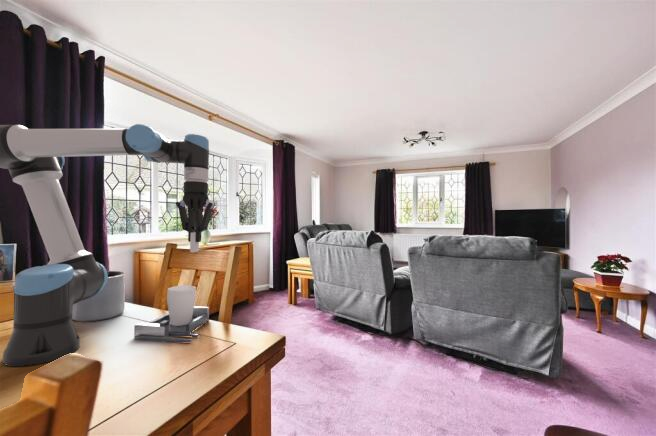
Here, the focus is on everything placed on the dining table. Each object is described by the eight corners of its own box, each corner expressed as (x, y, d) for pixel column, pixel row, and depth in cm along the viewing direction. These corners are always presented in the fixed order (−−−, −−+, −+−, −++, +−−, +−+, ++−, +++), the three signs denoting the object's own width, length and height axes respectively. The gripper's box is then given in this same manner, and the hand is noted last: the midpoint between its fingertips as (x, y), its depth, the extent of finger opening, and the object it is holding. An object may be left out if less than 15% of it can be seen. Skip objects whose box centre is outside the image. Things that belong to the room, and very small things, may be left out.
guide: (134, 339, 91) (134, 336, 91) (145, 333, 96) (145, 330, 96) (190, 343, 90) (190, 340, 90) (198, 337, 94) (198, 334, 94)
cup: (178, 317, 109) (178, 284, 109) (200, 319, 107) (201, 286, 107) (160, 326, 100) (160, 290, 100) (184, 328, 98) (185, 292, 98)
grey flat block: (134, 337, 93) (134, 321, 93) (139, 334, 95) (140, 318, 95) (164, 339, 92) (164, 323, 92) (169, 336, 94) (169, 320, 94)
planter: (134, 311, 118) (135, 272, 118) (94, 325, 103) (95, 280, 103) (102, 307, 122) (103, 269, 122) (58, 320, 106) (59, 277, 106)
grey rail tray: (145, 333, 96) (146, 317, 96) (172, 319, 110) (173, 305, 110) (186, 336, 95) (187, 319, 95) (208, 321, 109) (209, 307, 109)
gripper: (170, 180, 97) (169, 252, 97) (209, 180, 96) (207, 253, 96) (184, 182, 105) (182, 250, 104) (219, 183, 103) (218, 251, 103)
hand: (194, 251), depth 100 cm, fingers closed
